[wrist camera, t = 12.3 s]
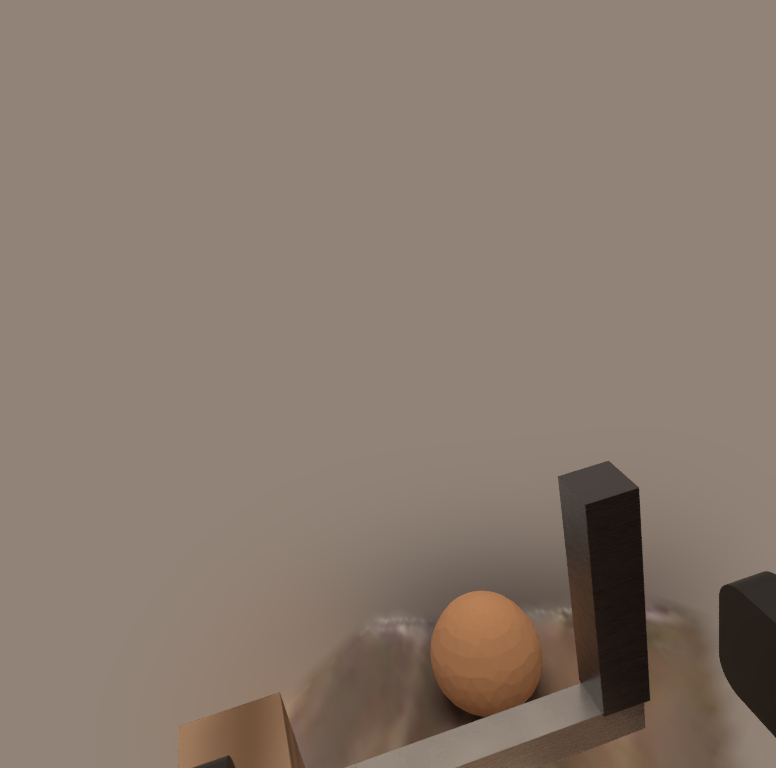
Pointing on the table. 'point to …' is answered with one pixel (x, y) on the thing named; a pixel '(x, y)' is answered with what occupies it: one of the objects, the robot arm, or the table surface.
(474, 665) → the egg
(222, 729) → the block
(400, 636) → the table surface
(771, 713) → the robot arm
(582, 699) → the gray l-shaped bracket
